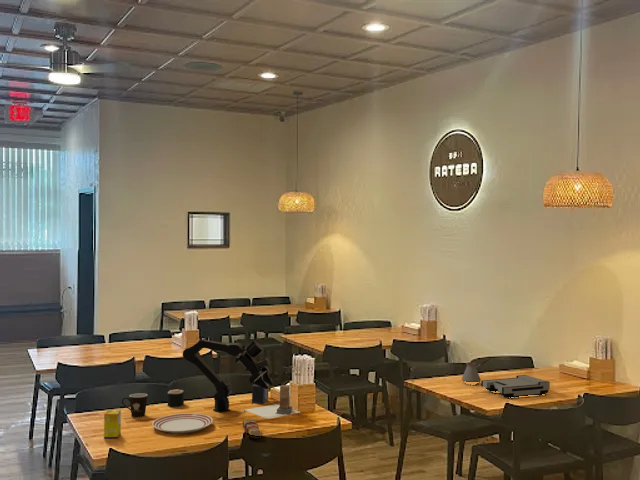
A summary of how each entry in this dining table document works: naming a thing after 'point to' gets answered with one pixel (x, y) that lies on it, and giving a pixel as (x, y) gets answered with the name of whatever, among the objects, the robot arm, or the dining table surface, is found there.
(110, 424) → the supplement box
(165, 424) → the dinner plate
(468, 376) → the coffee pot
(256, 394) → the small box
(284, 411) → the block
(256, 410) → the board
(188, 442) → the dining table surface
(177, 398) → the sushi
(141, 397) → the coffee mug
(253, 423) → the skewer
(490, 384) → the game console
